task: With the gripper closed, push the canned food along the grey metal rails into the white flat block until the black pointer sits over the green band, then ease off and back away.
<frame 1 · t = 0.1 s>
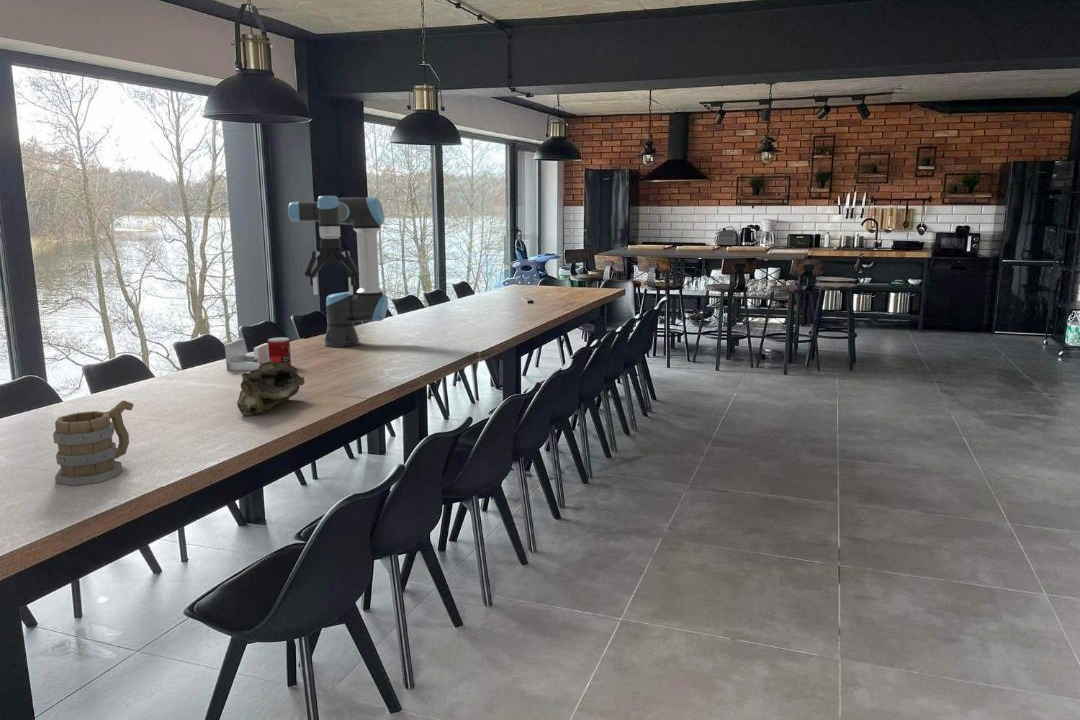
hand: (333, 294, 291), 28 cm above the table, tool pointing down, fingers open, 13 cm apart
white flat block: (260, 356, 295), point 4 cm above the table, slide at 0.0 cm
tankard: (104, 471, 179), on the table
hollow geode rock: (274, 407, 237), on the table
canned food: (280, 367, 297), on the table
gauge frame: (252, 366, 297), on the table
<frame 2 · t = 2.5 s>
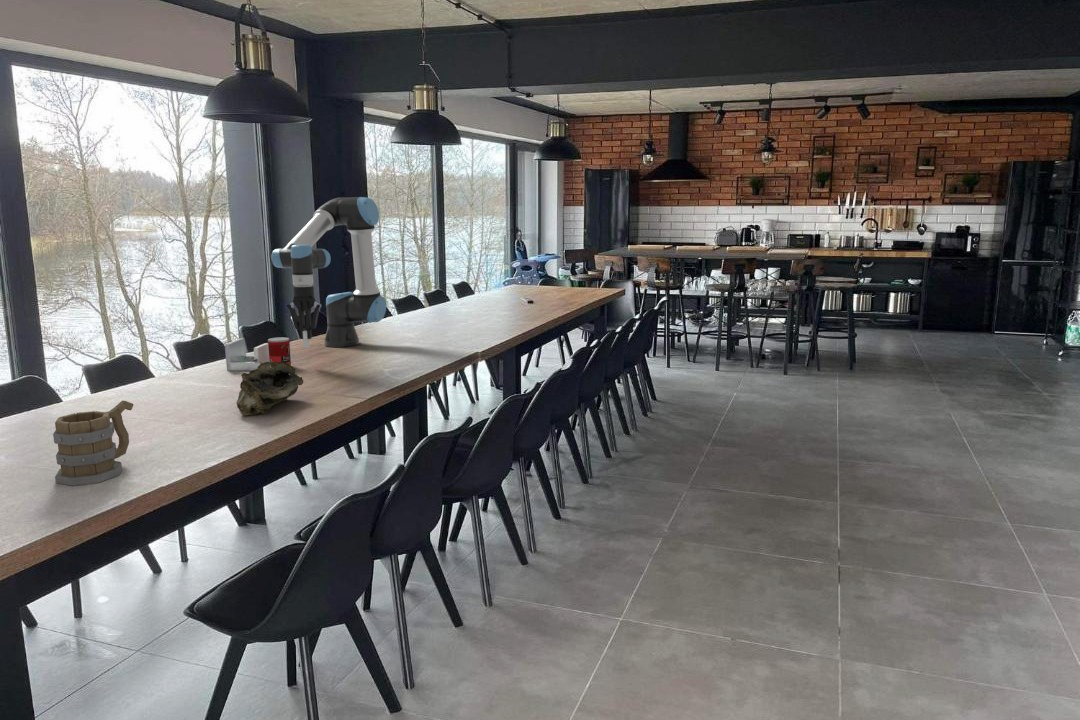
hand: (306, 347, 294), 8 cm above the table, tool pointing down, fingers closed
nothing on the table moved.
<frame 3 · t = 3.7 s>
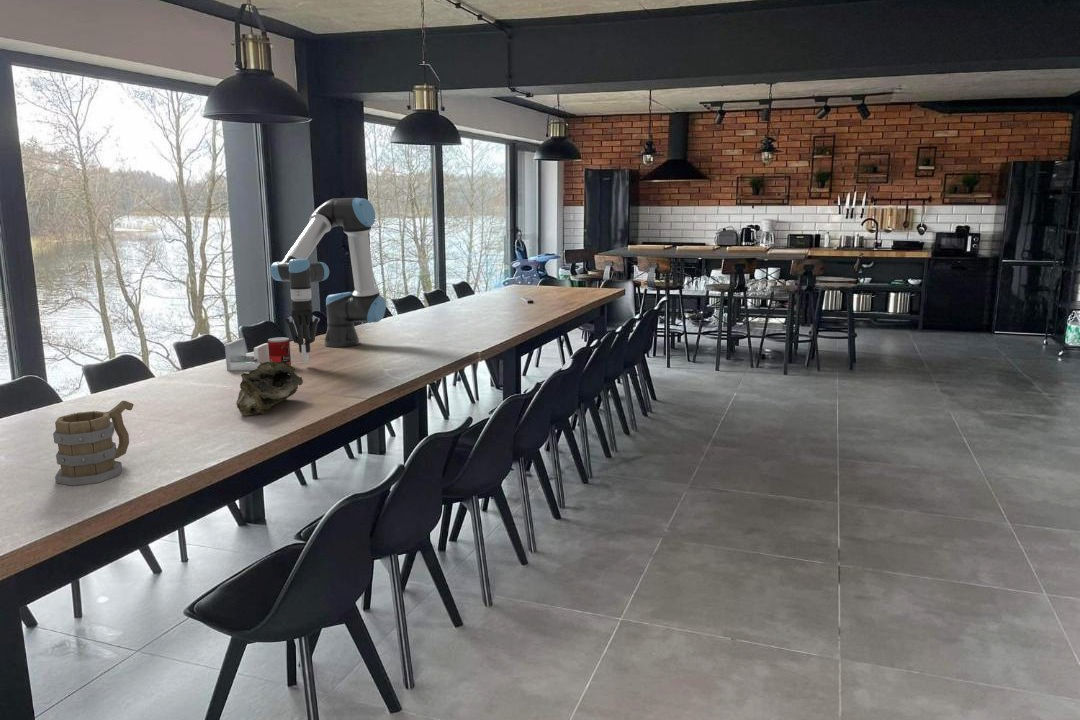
hand: (305, 360, 296), 2 cm above the table, tool pointing down, fingers closed
nothing on the table moved.
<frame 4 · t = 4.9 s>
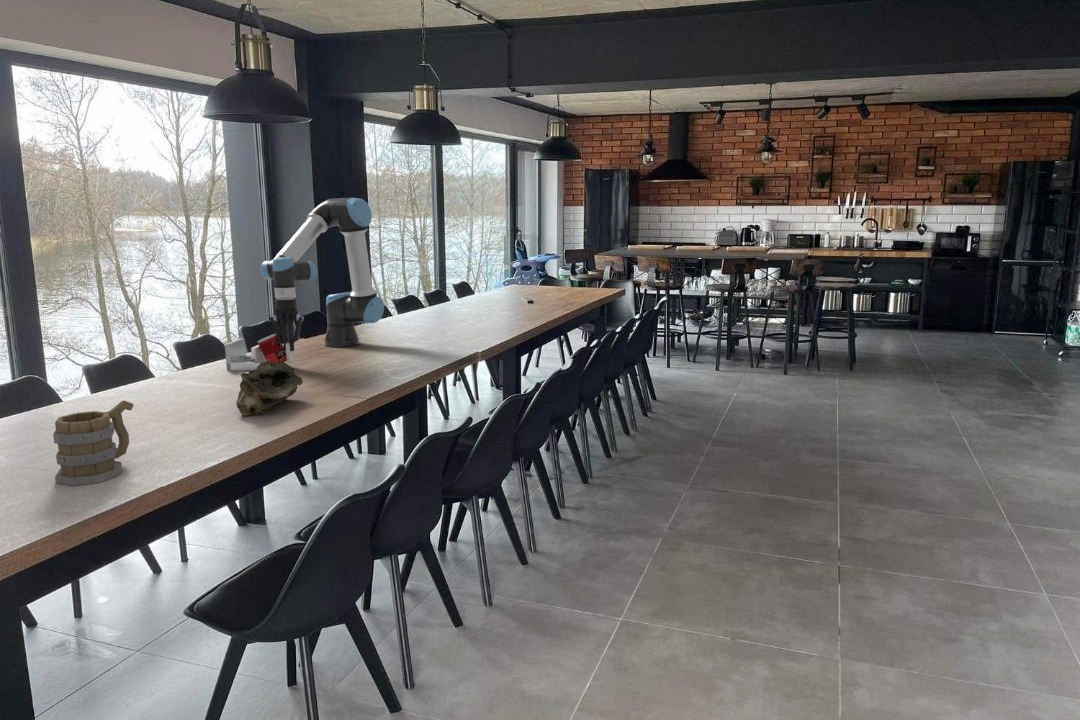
hand: (289, 359, 295), 3 cm above the table, tool pointing down, fingers closed
white flat block: (258, 356, 295), point 4 cm above the table, slide at 1.0 cm
canned food: (279, 363, 297), point 1 cm above the table, touching gripper, hand
everything else where it was.
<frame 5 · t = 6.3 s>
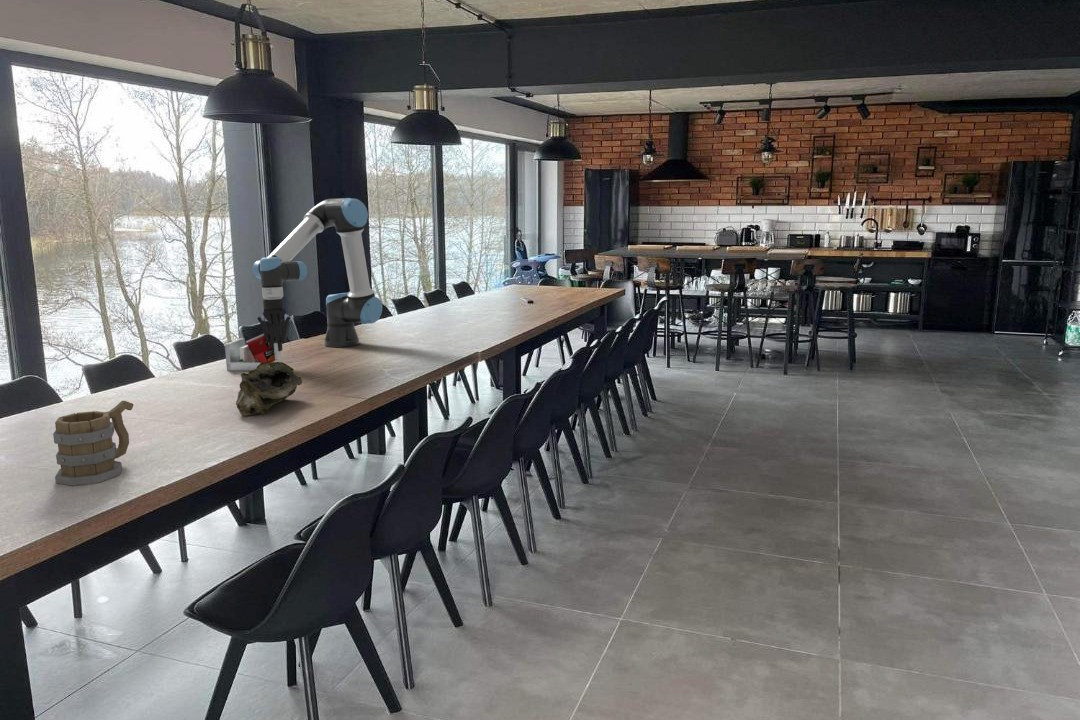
hand: (278, 359, 295), 3 cm above the table, tool pointing down, fingers closed
white flat block: (246, 356, 295), point 4 cm above the table, slide at 5.5 cm, touching canned food
canned food: (268, 363, 297), point 1 cm above the table, touching white flat block, gripper, hand
everything else where it was.
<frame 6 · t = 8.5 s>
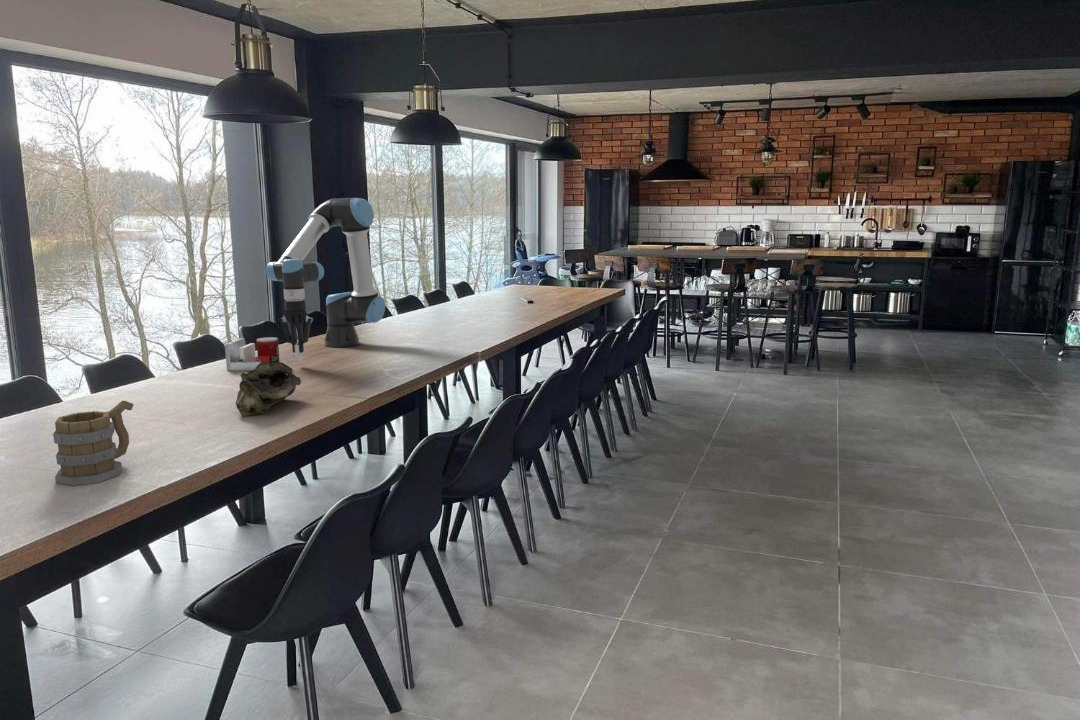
hand: (298, 360, 296), 2 cm above the table, tool pointing down, fingers closed
white flat block: (246, 356, 295), point 4 cm above the table, slide at 5.5 cm
canned food: (269, 367, 297), on the table
everything else where it was.
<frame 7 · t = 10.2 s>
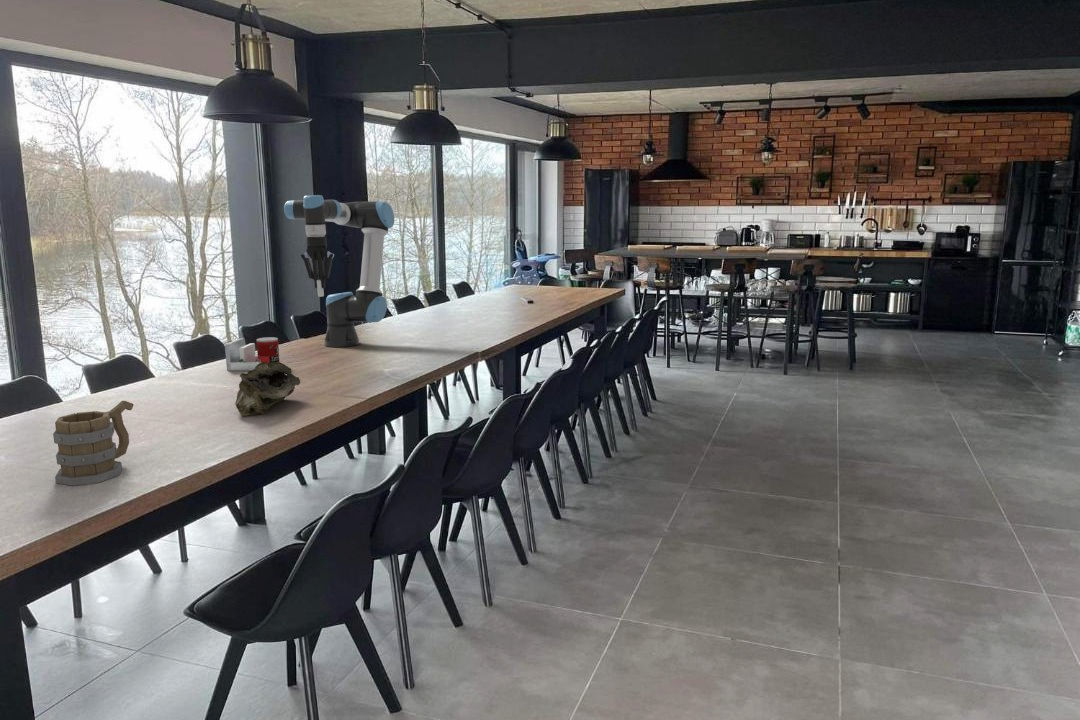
hand: (321, 296, 303), 26 cm above the table, tool pointing down, fingers closed
nothing on the table moved.
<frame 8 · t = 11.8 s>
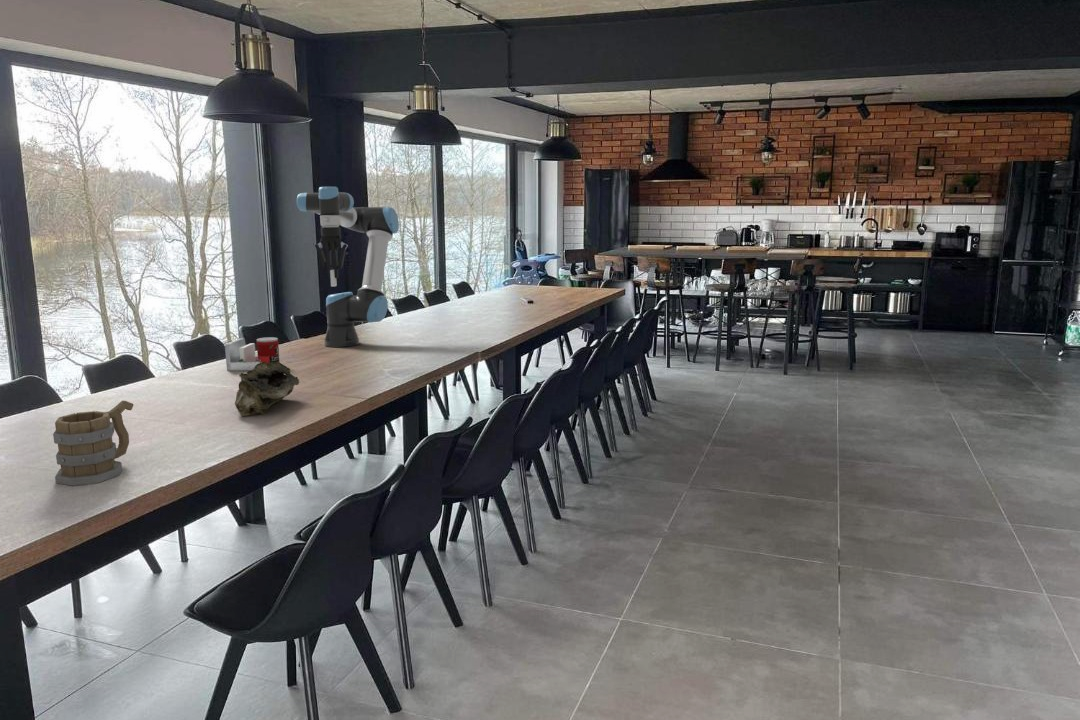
hand: (333, 286, 308), 29 cm above the table, tool pointing down, fingers closed
at the end: white flat block slide at 5.5 cm; canned food tilted 0°; the gripper is holding nothing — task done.
